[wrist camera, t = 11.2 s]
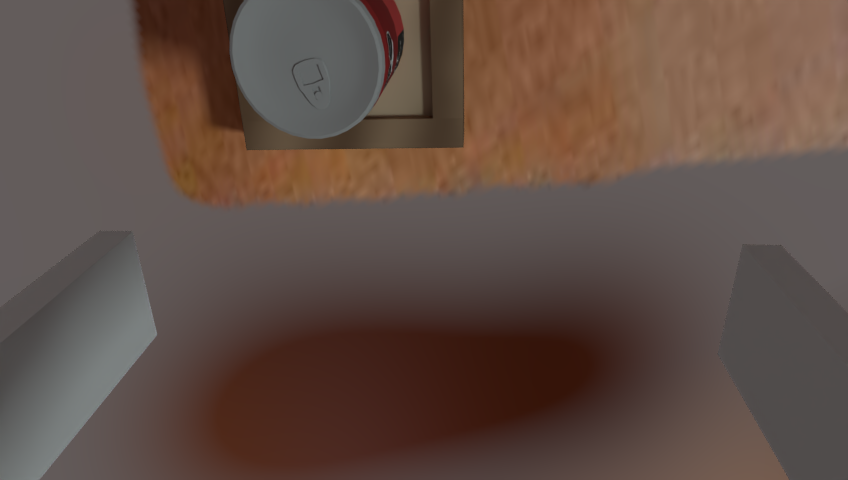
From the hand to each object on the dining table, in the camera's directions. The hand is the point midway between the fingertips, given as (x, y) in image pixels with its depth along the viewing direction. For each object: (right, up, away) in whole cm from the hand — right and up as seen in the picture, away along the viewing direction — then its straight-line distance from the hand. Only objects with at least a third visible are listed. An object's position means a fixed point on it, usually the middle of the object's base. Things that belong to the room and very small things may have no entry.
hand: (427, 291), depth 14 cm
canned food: (-5, +15, +27) cm, 31 cm away
